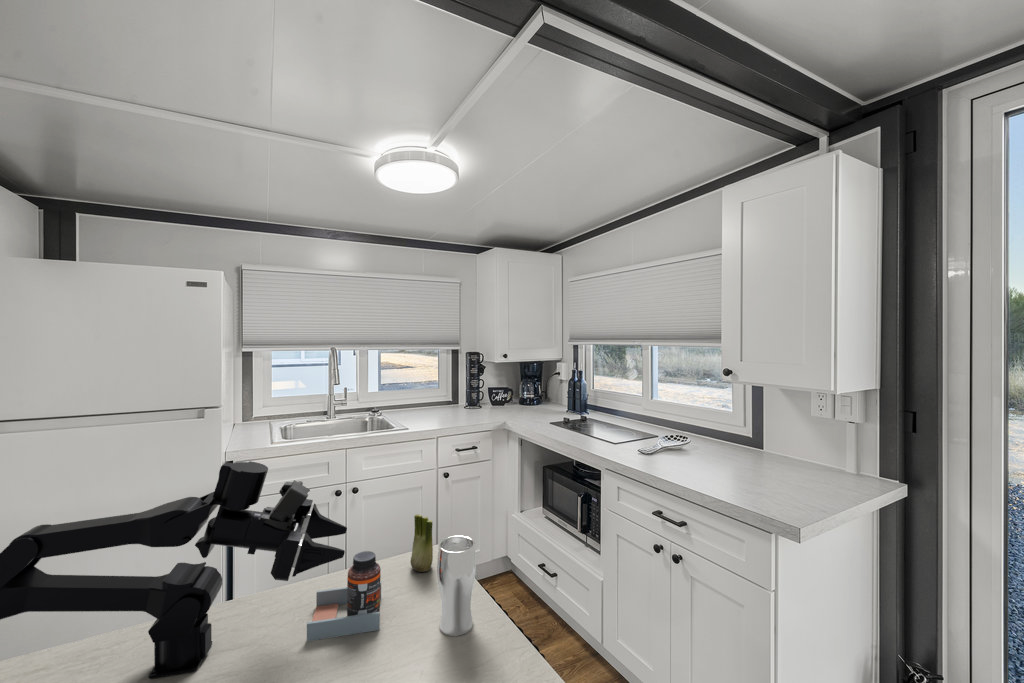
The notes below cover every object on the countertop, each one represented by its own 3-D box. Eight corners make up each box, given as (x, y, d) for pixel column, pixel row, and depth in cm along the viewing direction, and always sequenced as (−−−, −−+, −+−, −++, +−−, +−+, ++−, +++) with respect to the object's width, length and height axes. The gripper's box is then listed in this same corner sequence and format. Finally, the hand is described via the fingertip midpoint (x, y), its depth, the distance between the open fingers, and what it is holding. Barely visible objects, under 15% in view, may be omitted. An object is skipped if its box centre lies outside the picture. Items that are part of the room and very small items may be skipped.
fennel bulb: (435, 573, 97) (435, 519, 97) (412, 577, 95) (413, 523, 95) (429, 560, 102) (430, 510, 102) (408, 564, 101) (408, 513, 100)
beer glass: (480, 616, 82) (480, 537, 82) (468, 641, 76) (468, 555, 75) (445, 610, 84) (446, 533, 84) (430, 634, 77) (431, 550, 77)
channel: (306, 641, 75) (306, 624, 75) (316, 606, 85) (316, 591, 85) (379, 629, 78) (379, 613, 78) (381, 597, 88) (381, 582, 88)
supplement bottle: (370, 628, 79) (370, 565, 79) (340, 623, 80) (340, 562, 80) (386, 607, 85) (386, 549, 84) (358, 603, 86) (358, 546, 86)
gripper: (250, 502, 65) (357, 518, 70) (275, 465, 83) (359, 480, 87) (227, 577, 64) (337, 587, 69) (257, 524, 82) (343, 535, 87)
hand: (345, 541), depth 78 cm, fingers open, 9 cm apart
